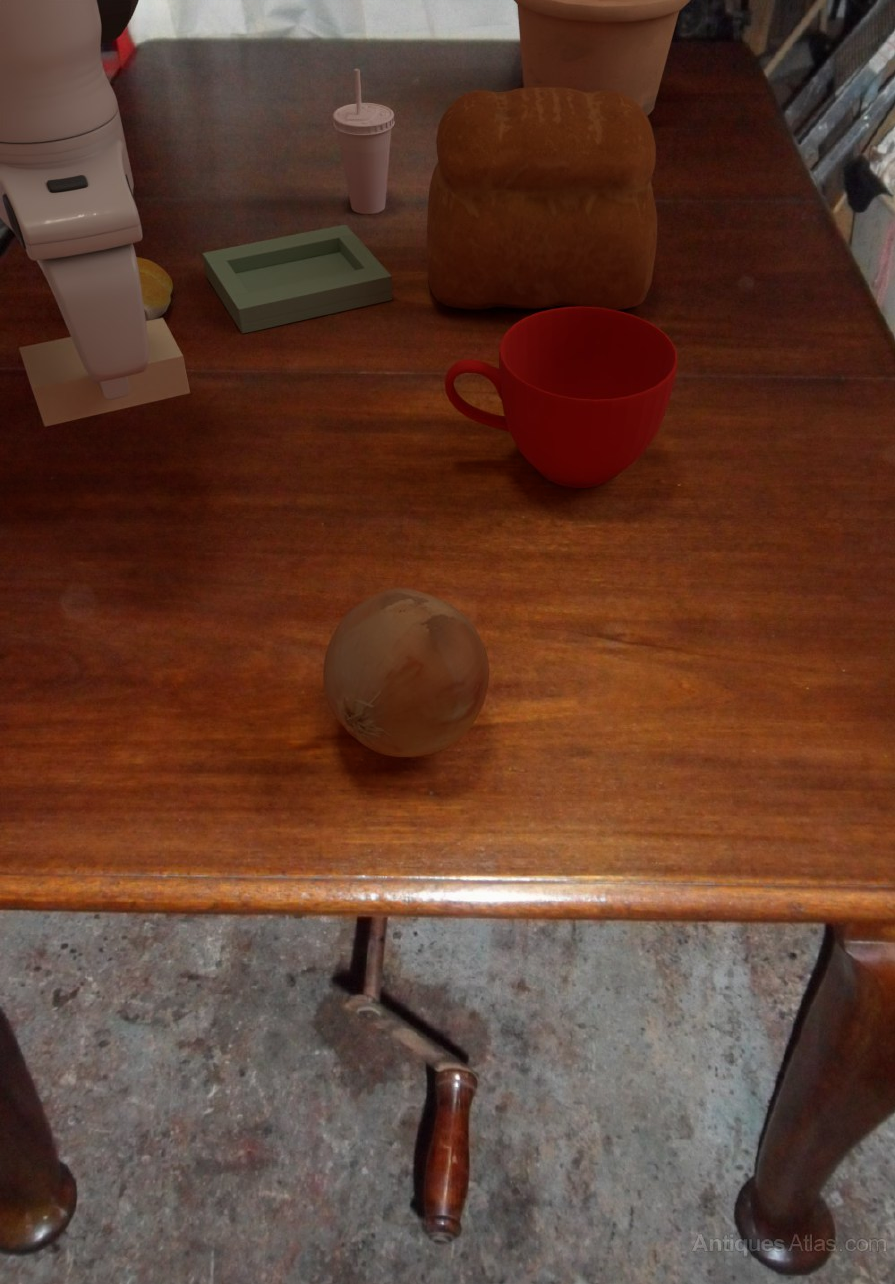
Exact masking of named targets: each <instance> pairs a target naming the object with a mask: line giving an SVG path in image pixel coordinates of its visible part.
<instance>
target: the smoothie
mask: <svg viewBox="0 0 895 1284" xmlns="http://www.w3.org/2000/svg"><path fill="white" fill-rule="evenodd" d="M353 72H354V91H355V103H351V104H345V105H342V106H341V107H339V108H337V109H335V110H334V112H333V113H332V121H333V122H332V126H333V128H335V130H336V132H337V138H338V143H339V147H340V154H341V160H342V164H343V170H344V176H345V180H346V186H347V192H348V197H349V202H350V207H351V210H352V211H353V212H355V213H357V214H361V215H374V214H378V213H381V212H383V211H384V210H385V209H386V202H387V201H386V200H387V188H388V178H389V177H388V176H389V175H388V174H389V166H390V165H389V164H390V149H391V139H392V129H393V128H394V127H395V124H396V121H395V113H394V111H393V110H392V108H390V107H388V106H385V105H383V104H380V103H371V102H362V87H361V86H362V85H361V84H362V83H361V69H360V68H354V70H353Z"/></svg>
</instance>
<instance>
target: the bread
mask: <svg viewBox="0 0 895 1284" xmlns="http://www.w3.org/2000/svg"><path fill="white" fill-rule="evenodd" d="M436 132H437V134H436V139H435V144H436V155H437V162H436V165H435V167H434V169H433V172H432V176H431V179H430V183H429V191H428V200H427V202H428V203H427V221H426V269H427V276H428V277H427V279H428V285H429V286H428V287H429V288H430V289H429V290H430V291H431V293H432V295H433V297H434V298H435V299H436V300H437V301H438V302H439V303H440V304H442V305H444V306H445V307H449V308H454V309H460V310H461V309H462V310H489V309H493V308H497V307H502V308H510V309H525V310H527V309H528V310H535V309H536V310H537V309H545V308H554V307H561V306H563V307H582V306H583V307H598V308H605V309H611V310H616V311H620V310H625V309H626V310H627V309H631V308H636V307H637V306H639V305H641V304H642V303H644V302H645V299H646V298H647V294H648V292H649V290H650V287H651V285H652V282H653V273H654V266H655V261H656V252H657V246H658V245H657V242H658V211H657V206H656V202H655V196H654V190H653V185H652V178H653V174H654V171H655V167H656V160H657V146H656V140H655V137H654V131H653V127H652V124H651V122H650V119H649V117H648V116H647V115H646V114H645V112H644V111H643V110H642V109H641V108H640V106H639V105H638V104H637V103H636V102H635V101H634V100H633V99H631V98H630V97H629V96H627V95H625V94H623V93H621V92H617V91H614V90H601V91H596V92H589V93H585V92H582V91H578V90H575V89H570V88H562V87H527V88H524V87H518V88H515V89H511V90H506V91H500V92H495V91H491V90H486V89H485V90H484V89H481V90H480V89H475V90H471V91H468V92H466V93H463V94H462V95H460V96H459V97H458V98H456V99H455V100H454V101H453V102H452V103H451V104H450V105H449V106H448V108H447V109H446V110H445V111H444V112H443V114H442V116H441V118H440V120H439V123H438V127H437V131H436Z"/></svg>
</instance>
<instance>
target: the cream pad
mask: <svg viewBox="0 0 895 1284" xmlns="http://www.w3.org/2000/svg"><path fill="white" fill-rule="evenodd" d="M146 327H147V336H148V344H149V360H148V366H147V368H146V370H145V371H143V372H141V373H138V374H134V375H130V376H127V379H128V383H129V387H130V393H129V394H128V395H127V396H125V397H121V398H117V399H112V400H108V399H105V398H104V397H103V394H102V392H101V389H100V386H99V383H98V382H96V381H93V380H92V379H91V378H90V377H89V375H88V374H87V372H86V370H85V368H84V366H83V364H82V361H81V359H80V357H79V355H78V352H77V350H76V348H75V345H74V343H73V340H72V338H71V336H68V337H64V338H59V339H54V340H49V341H44V342H40V343H36V344H30V345H25V346H20V347H18V350H19V352H20V353H19V354H20V356H21V359H22V362H23V365H24V369H25V371H26V375H27V379H28V381H29V384H30V388H31V390H32V393H33V396H34V399H35V402H36V405H37V408H38V411H39V414H40V417H41V420H42V424H43V426H44V427H50V426H53V425H58V424H62V423H67V422H71V421H76V420H79V419H85V418H89V417H92V416H93V417H94V416H97V415H102V414H106V413H110V412H111V413H112V412H115V411H119V410H123V409H128V408H131V407H137V406H141V405H145V404H150V403H155V402H158V401H162V400H167V399H171V398H174V397H179V396H184V395H188V394H191V390H190V386H189V381H188V374H187V370H186V365H185V359H184V355H183V353H182V350H181V349H180V347H179V346H178V344H177V342H176V340H175V338H174V335H173V334H172V332H171V330H170V328H169V326H168V325H167V323H166V321H165V319H164V317H159V318H157V319H154V320H150V321H146Z"/></svg>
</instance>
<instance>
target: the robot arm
mask: <svg viewBox="0 0 895 1284" xmlns="http://www.w3.org/2000/svg"><path fill="white" fill-rule="evenodd" d="M139 1H140V0H0V219H1V221H2V222H4V224H5V225H6V226H7V227H8V228H9V229H10V230H11V231H12V232H13V234H14V235H15V237H16V238H17V239H18V241H19V243H20V245H21V247H22V249H23V250H25V252H26V254H27V256H28V258H29V259H30V260H31V261H34V262H35V261H36V262H37V264H38V266H39V268H40V270H41V271H42V273H43V275H44V277H45V279H46V281H47V283H48V285H49V288H50V290H51V292H52V295H53V297H54V299H55V301H56V304H57V306H58V310H59V312H60V314H61V316H62V318H63V321H64V324H65V326H66V328H67V330H68V333H69V335H70V336H69V337H71V338H72V340H73V343H74V345H75V348H76V350H77V352H78V355H79V357H80V359H81V361H82V364H83V366H84V368H85V370H86V372H87V374H88V375H89V377H90V378H91V379H92V380H93V381H96V382H98V383H99V386H100V389H101V392H102V394H103V397H104V398H105V399H108V400H112V399H117V398H121V397H125V396H127V395H128V394H129V393H130V387H129V383H128V379H127V376H130V375H134V374H138V373H141V372H143V371H145V370H146V368H147V366H148V360H149V344H148V336H147V327H146V319H145V311H144V304H143V297H142V289H141V282H140V275H139V269H138V264H137V259H136V257H137V254H136V250H135V247H134V243H138V242H141V241H142V240H143V237H144V236H143V229H142V223H141V219H140V214H139V211H138V206H137V204H136V199H135V197H134V187H135V186H134V185H135V184H134V177H133V173H132V168H131V163H130V158H129V153H128V149H127V148H128V147H127V143H126V137H125V132H124V129H123V128H124V127H123V123H122V117H121V113H120V108H119V104H118V98H117V96H116V93H115V91H114V89H113V86H112V84H111V83H110V81H109V79H108V77H107V74H106V72H105V68H104V65H103V59H102V51H101V48H102V47H101V45H102V43H107V42H114V41H115V40H118V39H119V38H120V37H121V36H122V34H123V33H124V32H125V30H126V28H127V27H128V25H129V23H130V22H131V20H132V18H133V16H134V13H135V12H136V9H137V7H138V4H139Z"/></svg>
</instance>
